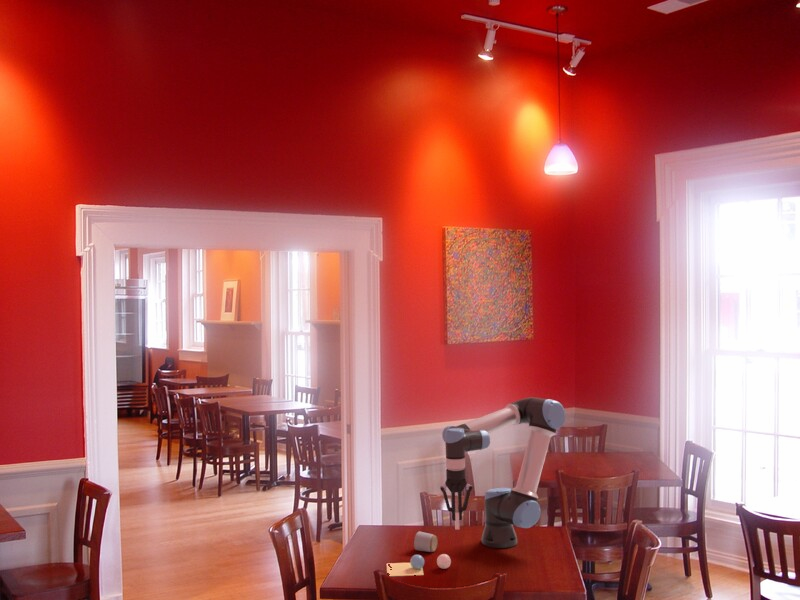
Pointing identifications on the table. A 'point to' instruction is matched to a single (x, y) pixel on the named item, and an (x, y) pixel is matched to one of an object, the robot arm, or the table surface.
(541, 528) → the table surface
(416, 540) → the ceramic mug
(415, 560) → the object ball
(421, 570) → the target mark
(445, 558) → the cue ball
